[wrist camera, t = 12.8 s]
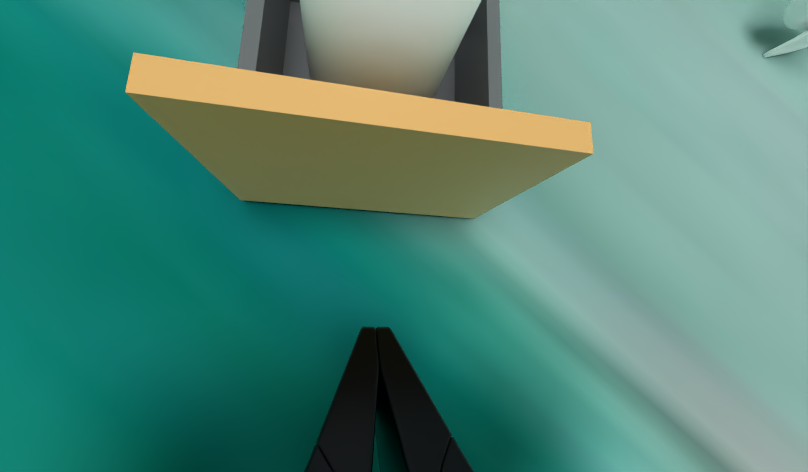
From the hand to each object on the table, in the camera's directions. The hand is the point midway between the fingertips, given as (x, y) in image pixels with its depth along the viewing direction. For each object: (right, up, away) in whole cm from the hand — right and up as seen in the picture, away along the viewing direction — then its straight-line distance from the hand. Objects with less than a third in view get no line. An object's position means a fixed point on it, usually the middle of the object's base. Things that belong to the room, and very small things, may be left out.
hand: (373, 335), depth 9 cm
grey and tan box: (-1, +10, +9) cm, 13 cm away
